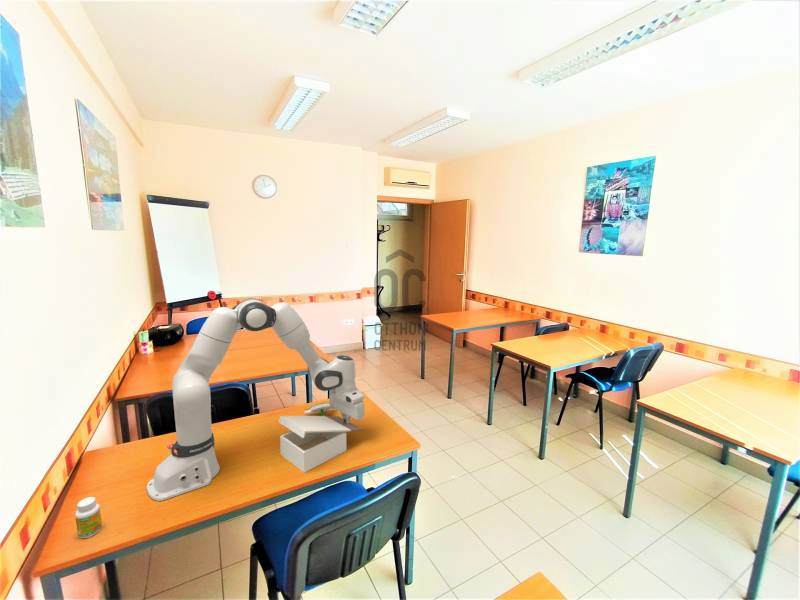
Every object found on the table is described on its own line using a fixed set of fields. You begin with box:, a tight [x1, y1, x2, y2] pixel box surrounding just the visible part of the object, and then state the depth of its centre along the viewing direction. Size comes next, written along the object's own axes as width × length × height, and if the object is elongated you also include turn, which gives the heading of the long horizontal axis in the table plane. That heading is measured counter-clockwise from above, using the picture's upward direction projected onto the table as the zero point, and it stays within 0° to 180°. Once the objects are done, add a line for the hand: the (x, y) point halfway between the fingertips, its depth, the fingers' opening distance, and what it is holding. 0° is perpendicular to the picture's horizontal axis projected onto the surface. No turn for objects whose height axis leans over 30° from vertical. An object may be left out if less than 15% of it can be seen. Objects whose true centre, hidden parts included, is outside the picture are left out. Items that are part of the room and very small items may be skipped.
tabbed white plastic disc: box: [304, 402, 335, 416], centre depth 175 cm, size 15×8×11 cm
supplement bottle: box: [74, 496, 103, 539], centre depth 104 cm, size 5×5×10 cm
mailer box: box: [279, 430, 348, 473], centre depth 144 cm, size 20×17×8 cm
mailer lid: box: [278, 415, 364, 438], centre depth 147 cm, size 30×17×3 cm, turn 137°
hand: (346, 422), depth 156 cm, fingers closed, pressing on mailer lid
